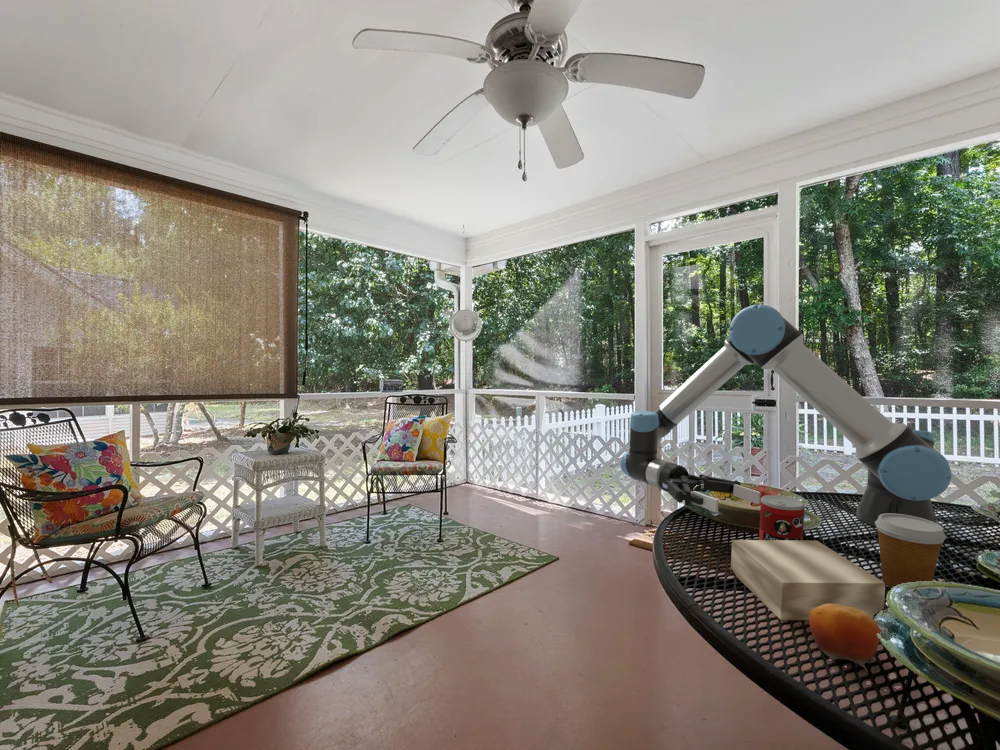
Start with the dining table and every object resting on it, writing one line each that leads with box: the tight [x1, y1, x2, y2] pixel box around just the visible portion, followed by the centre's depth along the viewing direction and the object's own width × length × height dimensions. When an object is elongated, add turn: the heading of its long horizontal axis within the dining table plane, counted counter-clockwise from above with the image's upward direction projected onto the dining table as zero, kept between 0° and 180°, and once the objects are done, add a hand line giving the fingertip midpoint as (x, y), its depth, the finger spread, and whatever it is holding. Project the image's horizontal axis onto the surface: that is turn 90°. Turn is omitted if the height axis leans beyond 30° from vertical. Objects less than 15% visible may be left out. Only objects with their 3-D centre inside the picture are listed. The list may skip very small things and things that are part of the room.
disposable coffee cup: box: [875, 513, 947, 589], centre depth 84 cm, size 10×10×12 cm
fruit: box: [809, 603, 882, 674], centre depth 66 cm, size 8×8×8 cm
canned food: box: [758, 494, 805, 540], centre depth 98 cm, size 8×8×11 cm
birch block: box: [730, 539, 886, 621], centre depth 82 cm, size 16×16×6 cm
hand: (738, 502), depth 107 cm, fingers open, 13 cm apart
